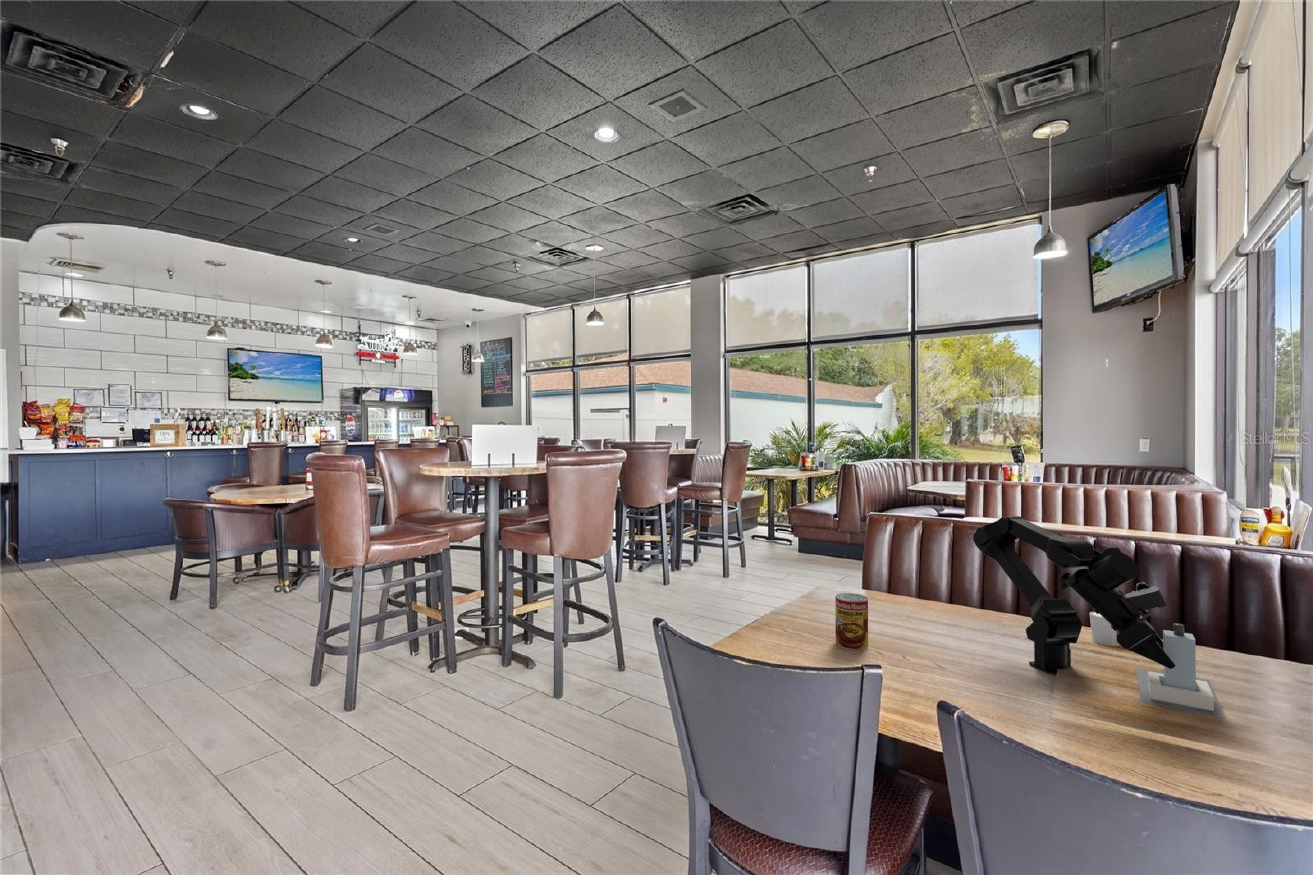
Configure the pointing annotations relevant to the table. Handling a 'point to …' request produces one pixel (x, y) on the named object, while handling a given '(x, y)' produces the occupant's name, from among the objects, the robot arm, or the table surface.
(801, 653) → the table surface
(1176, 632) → the plug
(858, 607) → the canned food
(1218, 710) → the board
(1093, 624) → the white cup
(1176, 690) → the socket
